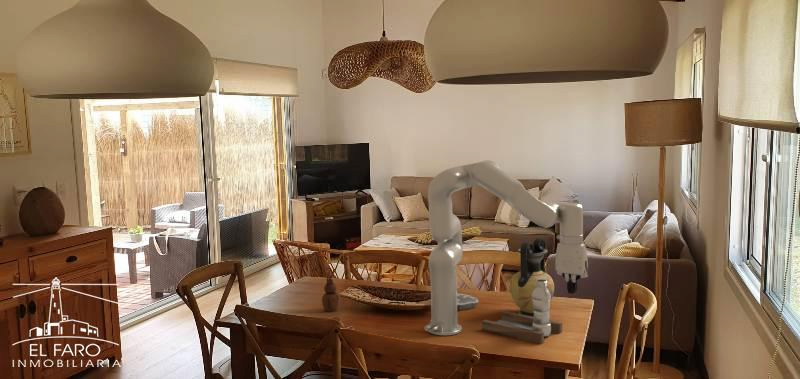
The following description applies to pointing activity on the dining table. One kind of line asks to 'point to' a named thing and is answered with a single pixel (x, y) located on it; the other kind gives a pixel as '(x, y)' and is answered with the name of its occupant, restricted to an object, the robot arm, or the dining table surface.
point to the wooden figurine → (330, 296)
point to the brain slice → (466, 302)
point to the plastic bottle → (541, 308)
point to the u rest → (518, 327)
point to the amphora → (530, 275)
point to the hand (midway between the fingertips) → (572, 292)
